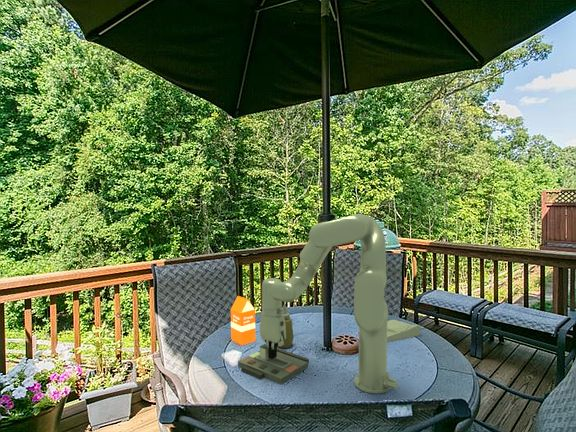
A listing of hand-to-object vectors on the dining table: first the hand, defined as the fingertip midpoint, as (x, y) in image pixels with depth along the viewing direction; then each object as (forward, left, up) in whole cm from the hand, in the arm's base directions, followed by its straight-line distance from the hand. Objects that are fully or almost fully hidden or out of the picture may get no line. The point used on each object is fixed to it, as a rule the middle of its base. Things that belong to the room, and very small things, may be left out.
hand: (272, 357), depth 139 cm
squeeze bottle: (+9, -18, -4) cm, 20 cm away
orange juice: (+28, -11, -4) cm, 30 cm away
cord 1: (+2, +9, -4) cm, 10 cm away
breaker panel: (0, 0, -4) cm, 4 cm away
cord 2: (0, -11, -4) cm, 11 cm away
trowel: (-23, -58, -4) cm, 62 cm away
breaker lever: (+4, 0, -1) cm, 4 cm away
